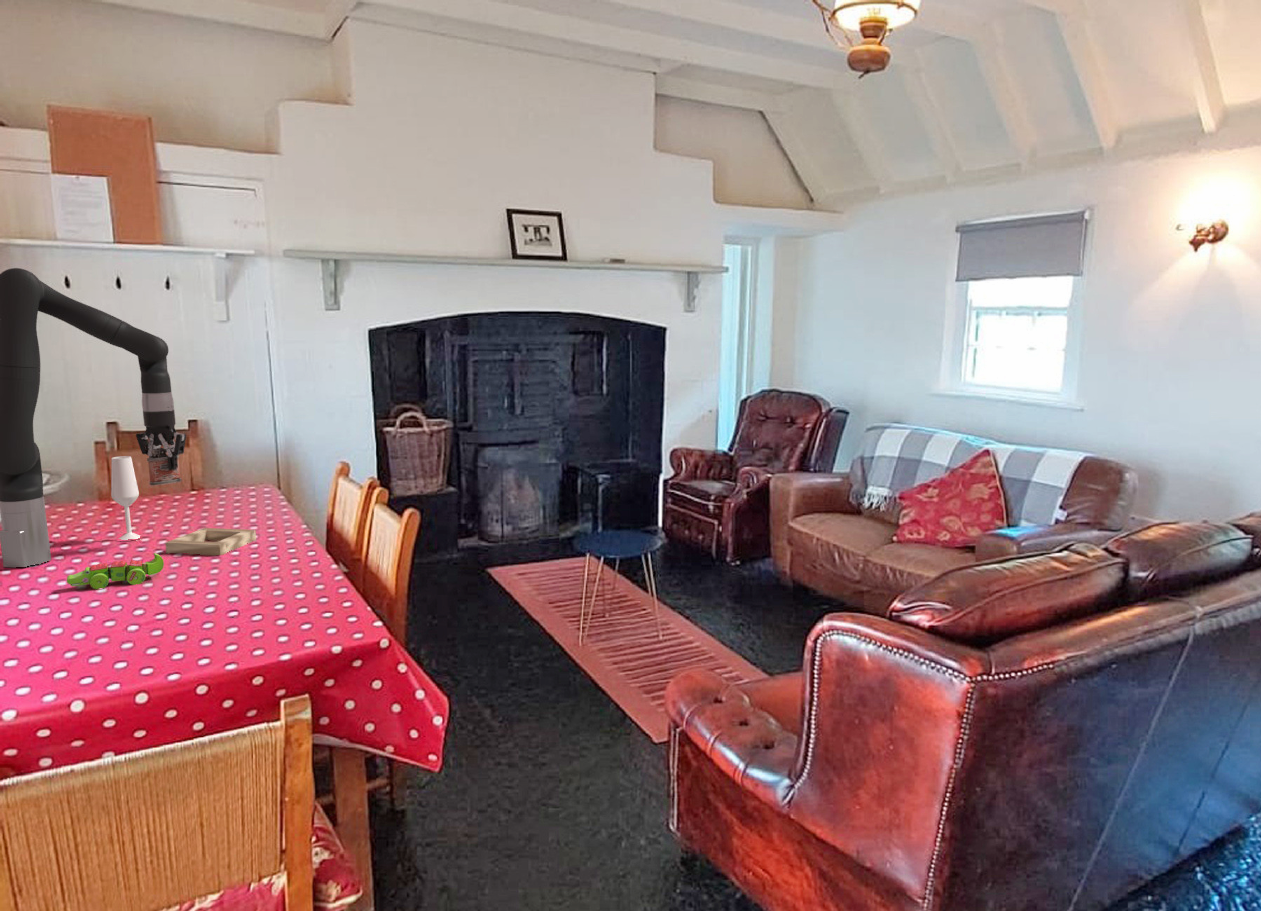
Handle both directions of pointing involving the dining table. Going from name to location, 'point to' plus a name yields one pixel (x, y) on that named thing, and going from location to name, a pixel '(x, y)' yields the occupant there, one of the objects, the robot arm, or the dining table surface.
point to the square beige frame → (225, 538)
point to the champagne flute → (124, 489)
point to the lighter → (162, 468)
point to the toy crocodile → (116, 573)
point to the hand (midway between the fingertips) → (164, 469)
